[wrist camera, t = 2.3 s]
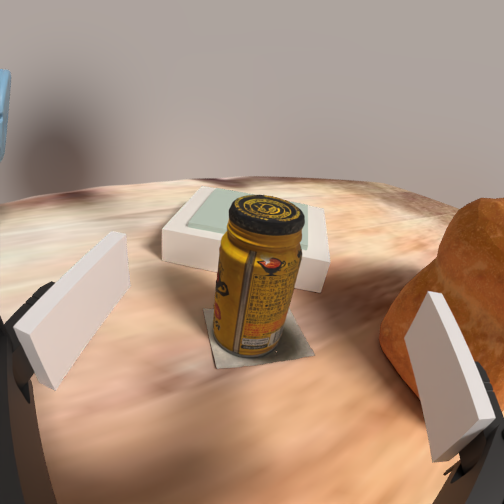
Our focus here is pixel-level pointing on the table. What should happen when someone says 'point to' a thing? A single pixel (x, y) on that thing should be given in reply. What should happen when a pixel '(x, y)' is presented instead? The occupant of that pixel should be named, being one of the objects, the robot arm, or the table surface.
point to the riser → (215, 225)
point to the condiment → (257, 285)
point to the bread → (459, 292)
